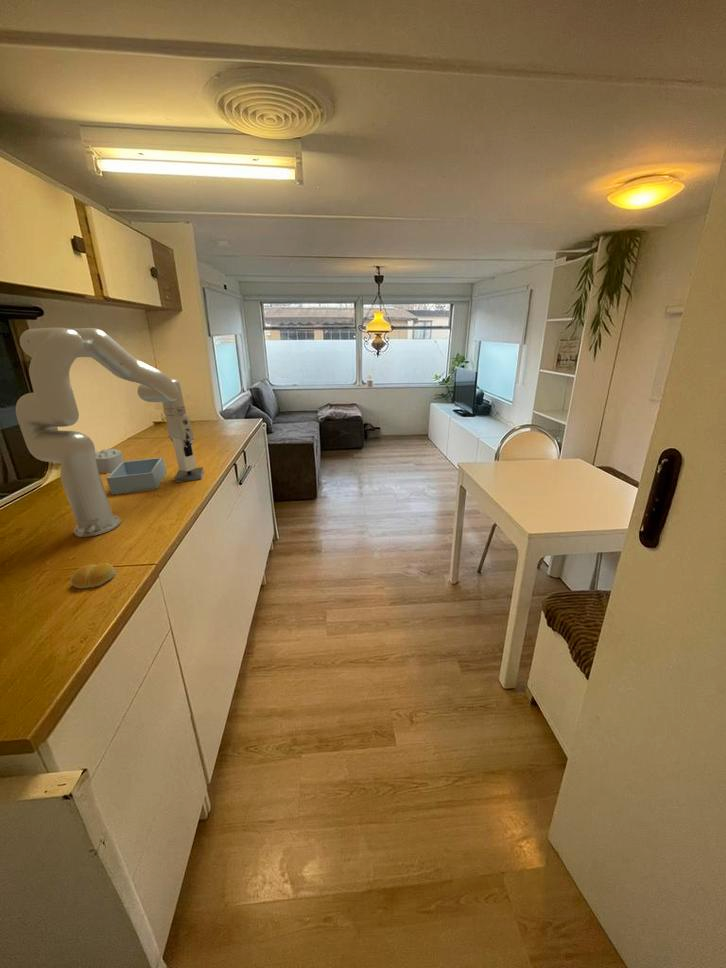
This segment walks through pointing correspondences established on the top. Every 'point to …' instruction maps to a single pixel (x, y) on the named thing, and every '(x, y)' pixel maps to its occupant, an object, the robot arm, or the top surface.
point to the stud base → (189, 474)
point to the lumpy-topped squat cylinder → (108, 460)
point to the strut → (183, 456)
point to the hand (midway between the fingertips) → (184, 454)
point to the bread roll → (92, 575)
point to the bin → (136, 476)
